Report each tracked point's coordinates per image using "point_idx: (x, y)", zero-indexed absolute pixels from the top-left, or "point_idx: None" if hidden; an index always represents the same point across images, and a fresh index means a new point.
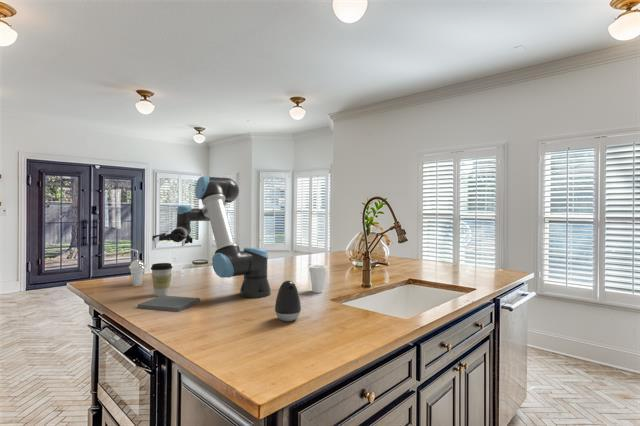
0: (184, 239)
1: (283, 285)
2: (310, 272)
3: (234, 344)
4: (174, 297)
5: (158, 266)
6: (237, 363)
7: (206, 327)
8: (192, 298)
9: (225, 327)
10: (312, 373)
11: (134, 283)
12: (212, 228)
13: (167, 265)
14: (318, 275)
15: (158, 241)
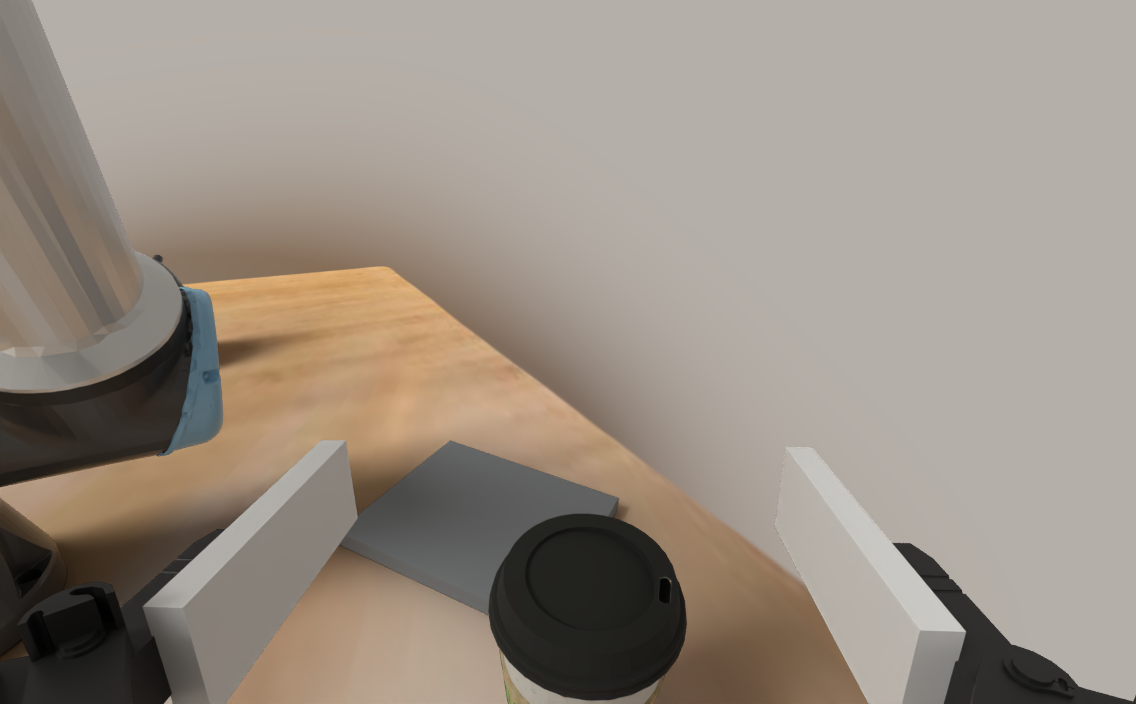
0: (259, 506)
1: (166, 267)
2: None
3: (362, 318)
4: (468, 566)
5: (595, 517)
6: (380, 293)
7: (390, 363)
8: (377, 532)
9: (348, 357)
10: (305, 275)
11: None
12: (78, 135)
13: (527, 532)
14: None
15: (869, 691)
